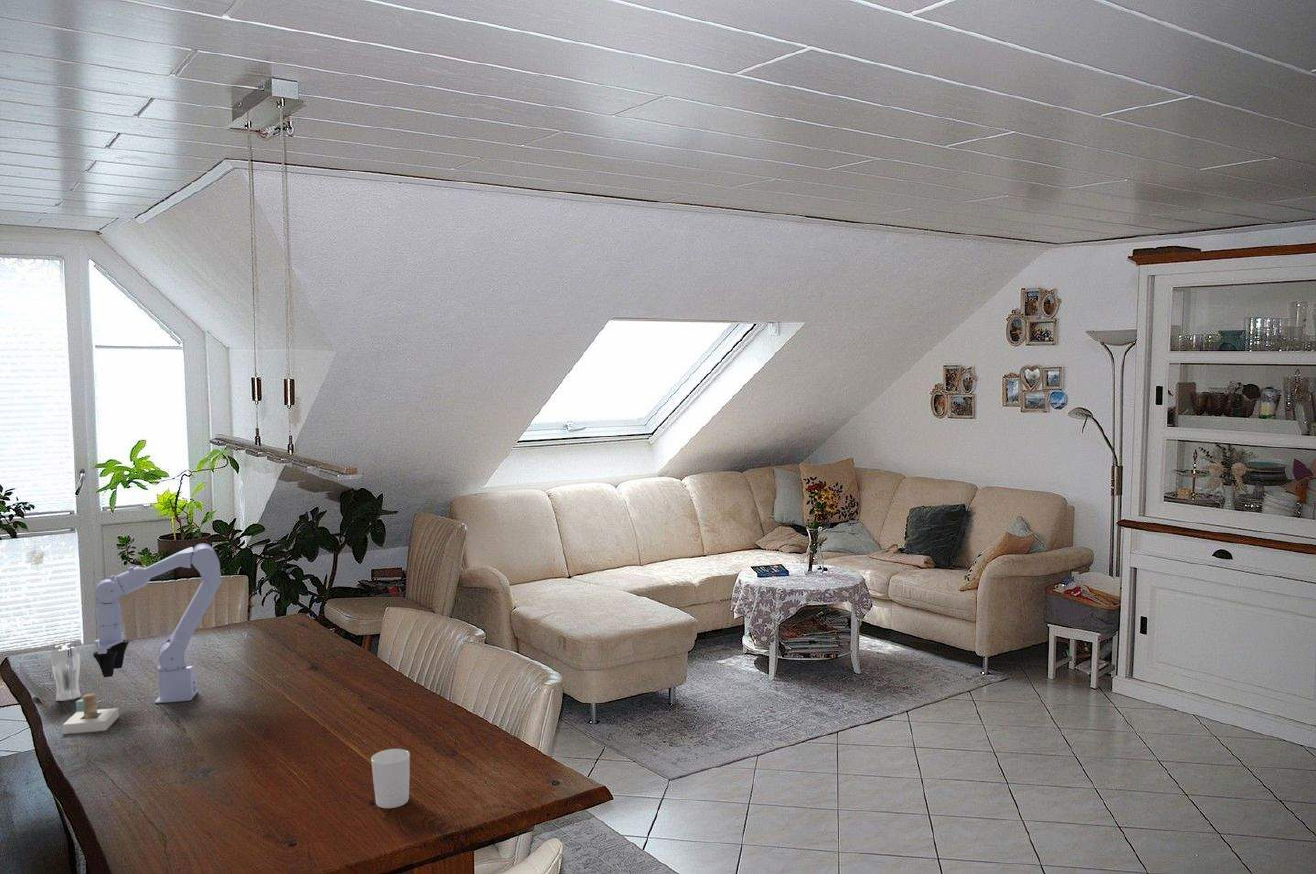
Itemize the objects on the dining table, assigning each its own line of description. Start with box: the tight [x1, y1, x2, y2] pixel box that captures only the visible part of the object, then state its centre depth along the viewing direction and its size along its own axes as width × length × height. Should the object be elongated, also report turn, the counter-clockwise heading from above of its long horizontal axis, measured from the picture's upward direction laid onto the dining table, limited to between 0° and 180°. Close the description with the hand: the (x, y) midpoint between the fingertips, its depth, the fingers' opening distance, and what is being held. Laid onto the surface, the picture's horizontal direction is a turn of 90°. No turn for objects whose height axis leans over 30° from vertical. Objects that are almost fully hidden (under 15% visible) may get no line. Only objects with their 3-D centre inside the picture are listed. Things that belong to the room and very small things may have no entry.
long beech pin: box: [82, 693, 98, 719], centre depth 260 cm, size 3×3×8 cm
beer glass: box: [50, 642, 82, 702], centre depth 282 cm, size 7×7×15 cm
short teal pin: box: [75, 698, 84, 712], centre depth 267 cm, size 3×3×4 cm
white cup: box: [370, 748, 411, 809], centre depth 211 cm, size 8×8×10 cm
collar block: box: [62, 707, 120, 735], centre depth 260 cm, size 10×10×2 cm
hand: (112, 672), depth 273 cm, fingers open, 7 cm apart
